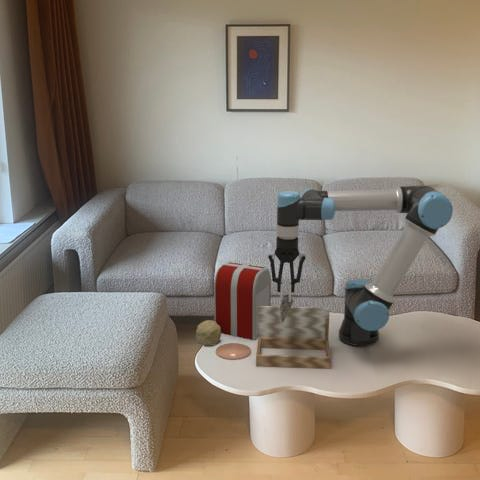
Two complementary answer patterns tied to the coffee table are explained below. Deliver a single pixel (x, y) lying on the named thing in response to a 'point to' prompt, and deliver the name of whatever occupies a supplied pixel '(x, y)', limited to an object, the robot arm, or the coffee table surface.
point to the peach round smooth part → (233, 351)
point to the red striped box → (240, 298)
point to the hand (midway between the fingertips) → (285, 300)
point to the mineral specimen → (285, 307)
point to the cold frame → (294, 336)
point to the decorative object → (208, 333)
